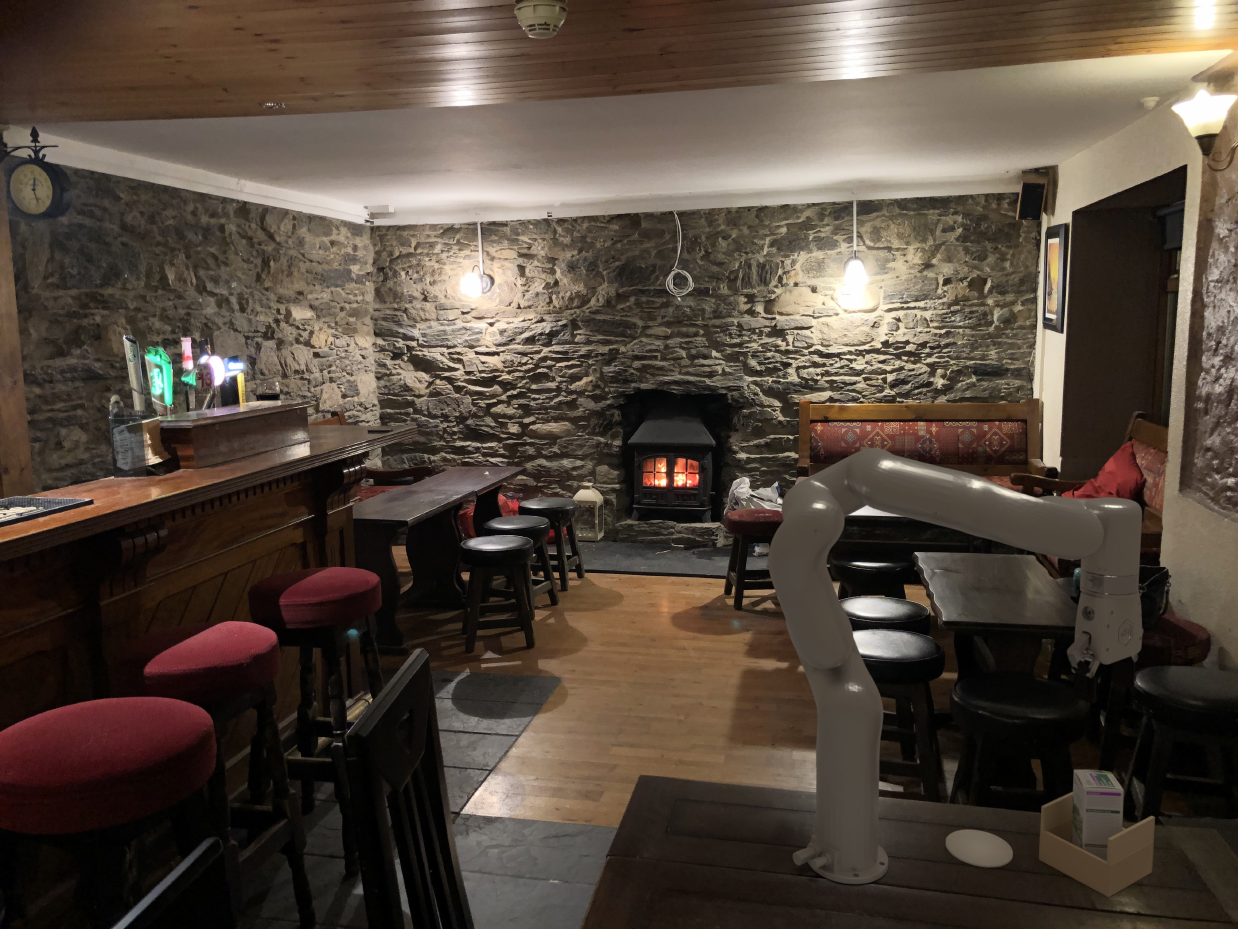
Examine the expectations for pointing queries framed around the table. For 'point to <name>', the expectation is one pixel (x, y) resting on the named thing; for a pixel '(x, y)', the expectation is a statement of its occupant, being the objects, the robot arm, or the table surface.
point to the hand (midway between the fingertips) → (1103, 692)
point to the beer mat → (979, 848)
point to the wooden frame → (1124, 855)
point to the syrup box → (1096, 810)
